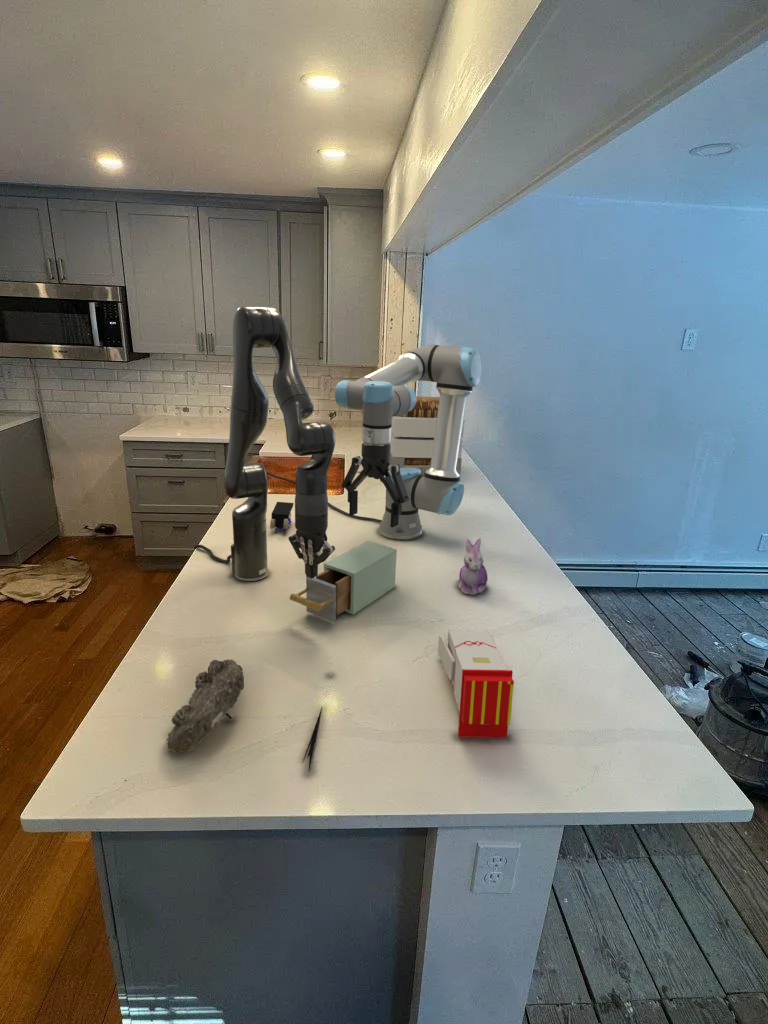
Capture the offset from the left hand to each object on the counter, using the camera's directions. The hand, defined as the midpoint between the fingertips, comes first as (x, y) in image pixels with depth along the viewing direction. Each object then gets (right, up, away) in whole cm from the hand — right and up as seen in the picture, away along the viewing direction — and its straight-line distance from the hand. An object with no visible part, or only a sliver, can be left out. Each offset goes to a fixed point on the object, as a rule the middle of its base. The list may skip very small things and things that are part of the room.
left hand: (311, 576), depth 136 cm
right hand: (+15, +13, +17) cm, 26 cm away
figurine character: (-19, +10, +64) cm, 68 cm away
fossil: (-15, -24, -28) cm, 40 cm away
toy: (+35, -22, -17) cm, 45 cm away
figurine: (+43, -6, +27) cm, 51 cm away
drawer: (+5, -9, +11) cm, 15 cm away
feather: (+5, -24, -27) cm, 37 cm away
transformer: (+35, +34, +139) cm, 147 cm away
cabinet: (+11, -7, +21) cm, 24 cm away
